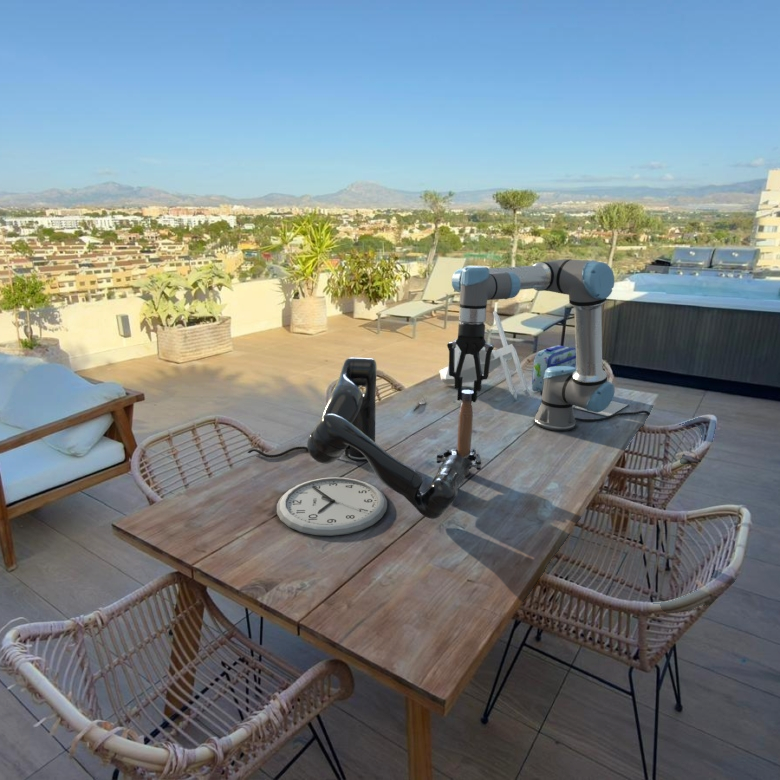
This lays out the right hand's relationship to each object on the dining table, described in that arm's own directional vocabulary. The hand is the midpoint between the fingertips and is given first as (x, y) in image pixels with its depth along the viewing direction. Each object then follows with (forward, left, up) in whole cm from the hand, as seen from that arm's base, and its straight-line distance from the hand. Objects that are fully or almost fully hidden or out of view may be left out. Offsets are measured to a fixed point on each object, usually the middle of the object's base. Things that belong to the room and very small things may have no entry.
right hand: (467, 399), depth 156 cm
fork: (+18, -61, -24) cm, 68 cm away
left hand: (-1, -3, -17) cm, 18 cm away
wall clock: (+36, +25, -24) cm, 50 cm away
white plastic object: (-9, -86, -24) cm, 89 cm away
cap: (0, 0, +2) cm, 2 cm away
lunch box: (-43, -95, -24) cm, 107 cm away
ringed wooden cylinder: (0, 0, -24) cm, 24 cm away
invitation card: (-61, -74, -24) cm, 98 cm away
